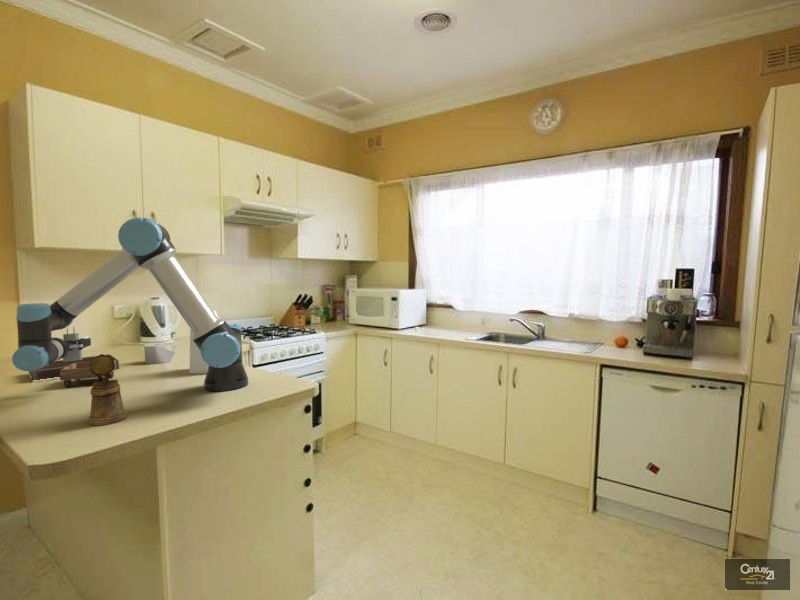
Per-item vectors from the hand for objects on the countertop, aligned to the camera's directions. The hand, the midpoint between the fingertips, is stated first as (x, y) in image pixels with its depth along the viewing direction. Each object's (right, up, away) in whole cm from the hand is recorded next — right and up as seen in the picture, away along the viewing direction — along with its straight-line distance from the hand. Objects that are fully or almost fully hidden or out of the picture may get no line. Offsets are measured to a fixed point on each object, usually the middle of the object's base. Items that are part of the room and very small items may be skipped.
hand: (76, 340), depth 154 cm
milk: (+38, -16, +26) cm, 49 cm away
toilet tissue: (+5, -15, +45) cm, 47 cm away
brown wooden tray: (-22, -17, +27) cm, 39 cm away
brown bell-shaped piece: (+35, -20, -33) cm, 52 cm away
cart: (-2, -17, +9) cm, 20 cm away
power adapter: (+2, -7, -4) cm, 8 cm away
